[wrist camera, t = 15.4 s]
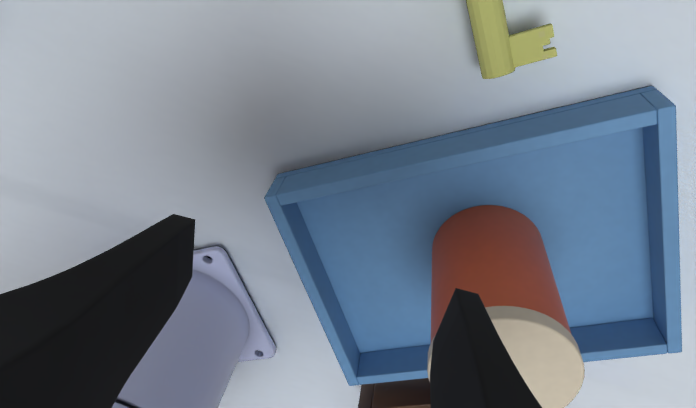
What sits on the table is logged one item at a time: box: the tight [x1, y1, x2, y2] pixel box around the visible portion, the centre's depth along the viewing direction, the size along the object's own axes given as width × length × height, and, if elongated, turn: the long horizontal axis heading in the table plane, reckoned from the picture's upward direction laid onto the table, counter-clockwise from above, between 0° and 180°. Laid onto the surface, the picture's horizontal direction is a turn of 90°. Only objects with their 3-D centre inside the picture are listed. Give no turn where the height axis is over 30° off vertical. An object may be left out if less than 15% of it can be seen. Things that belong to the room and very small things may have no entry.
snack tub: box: [427, 205, 585, 408], centre depth 21 cm, size 5×5×8 cm
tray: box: [264, 86, 682, 386], centre depth 24 cm, size 16×12×2 cm
